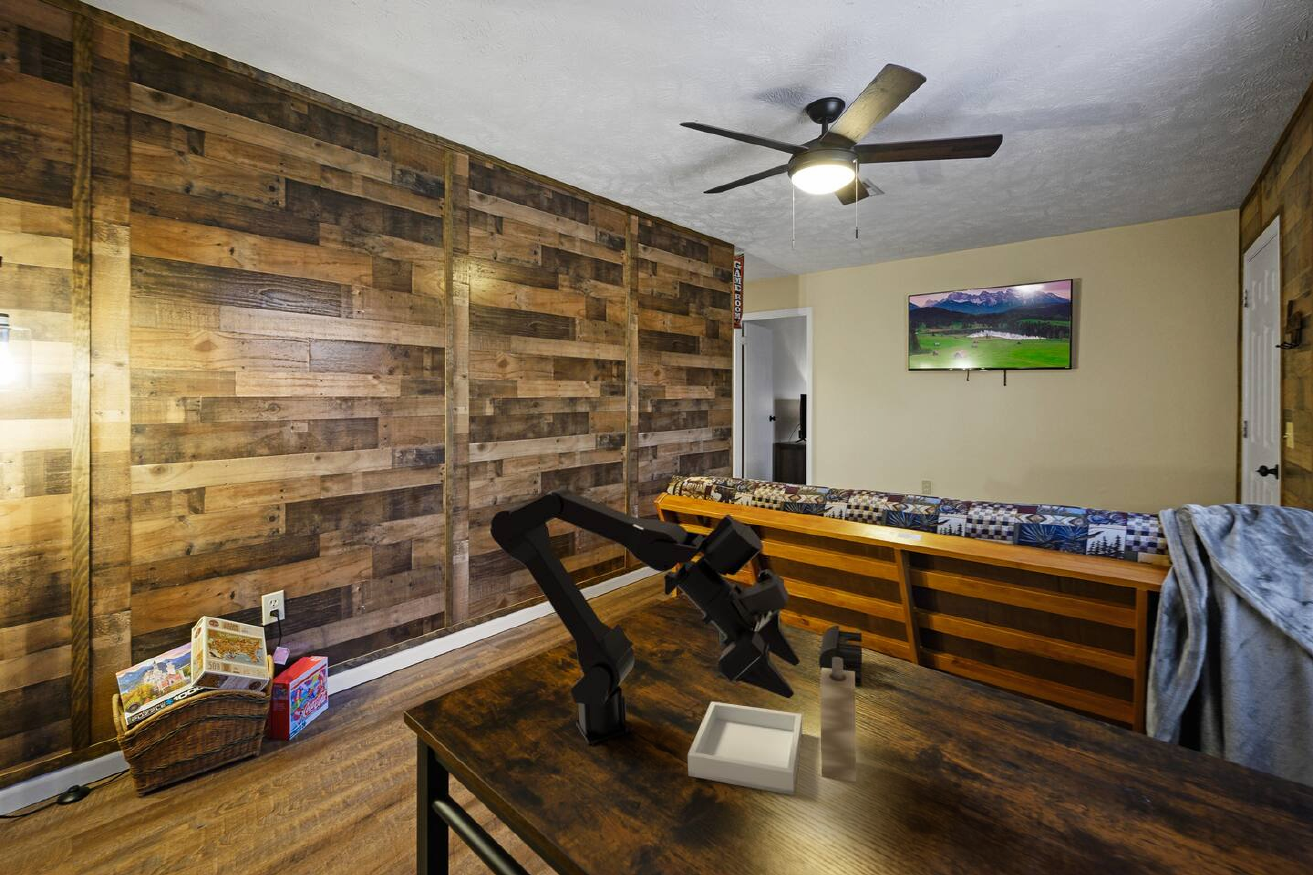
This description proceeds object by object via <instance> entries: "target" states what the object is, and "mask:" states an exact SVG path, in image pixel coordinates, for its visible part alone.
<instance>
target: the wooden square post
mask: <svg viewBox="0 0 1313 875" xmlns="http://www.w3.org/2000/svg"><path fill="white" fill-rule="evenodd" d="M819 697H820V698H819V701H820V711H819V712H820V754H821V755H820V757H821V758H820V760H821V761H820V762H821V764H820V766H821V777H824V778H829V779H836V780H842V781H848V782H853V783H857V754H856V753H857V745H856V744H857V742H856V741H857V739H856V738H857V737H856V734H857V732H856V731H857V730H856V686H855V671H846V670H843V659H842V658H840V657H833V658H832V669H829V668H822V669H820V680H819Z"/></svg>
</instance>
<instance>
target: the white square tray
mask: <svg viewBox="0 0 1313 875" xmlns="http://www.w3.org/2000/svg"><path fill="white" fill-rule="evenodd" d="M802 738H803V714H802V713H797V712H789V711H781V710H775V709H767V708H760V707H753V706H745V705H739V704H731V703H725V702H718V701H711V702H710V704H709V706H708V708H707V710H706V712H705V715H704V716H703V719H702V721H701V723H700V726H699V729H698V731H697V732H696V735H695V737H694V740H693V742H692V744H691V746H690V749H689V751H688V753H687V774H688V777H692V778H693V777H694V778H697V779H698V778H699V779H703V780H709V781H714V782H720V783H725V784H730V785H735V786H741V787H746V788H752V789H757V790H761V791H767V792H773V793H779V794H783V795H787V796H788V795H789V796H795V795H794V793H795V787H796V779H797V773H798V766H799V760H800V753H801V752H800V751H801V743H802Z"/></svg>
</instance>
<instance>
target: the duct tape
mask: <svg viewBox="0 0 1313 875" xmlns="http://www.w3.org/2000/svg"><path fill="white" fill-rule="evenodd" d="M716 631H717V632H719V633H718V634H719V637H718V638H719V645H720V646H721V647H722V648H723V649H726V648H727V646H726V644H725V643H724V642H723V640H724V638H725V635H724V634H723V633H722V632H721V631H720V630H719V629H718V628H717V629H716Z"/></svg>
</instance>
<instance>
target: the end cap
mask: <svg viewBox="0 0 1313 875" xmlns="http://www.w3.org/2000/svg"><path fill="white" fill-rule="evenodd" d="M862 638H863V634H862V632H853V631H844V630H840V625H834V626H831V627H828V628H827V629H826V630H825V632H824V633H823V636H822V640H821V647H820V650H819V651H820V652H819V656H818V666H819V668H820V670H821V669H822V668H829V669H832V658H833V657H840V658H842V659H843V670H846V671H855V687H861V686H862V683H863V682H862V679H863V647H862V645H859V644H852V643H848V642H857V643H862V641H863V639H862Z"/></svg>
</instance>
